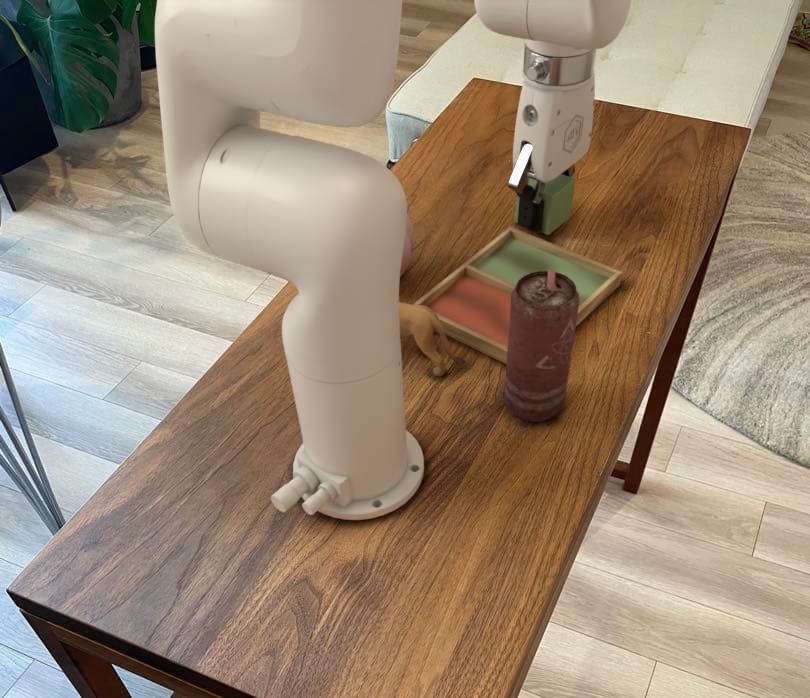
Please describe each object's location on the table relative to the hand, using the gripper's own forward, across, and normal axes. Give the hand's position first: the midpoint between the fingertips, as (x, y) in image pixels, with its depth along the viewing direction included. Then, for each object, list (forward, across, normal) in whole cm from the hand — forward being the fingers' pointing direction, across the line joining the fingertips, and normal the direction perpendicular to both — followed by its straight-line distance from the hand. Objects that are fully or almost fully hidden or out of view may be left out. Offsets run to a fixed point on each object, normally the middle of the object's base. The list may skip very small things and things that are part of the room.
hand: (542, 216), depth 103 cm
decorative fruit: (+2, -21, +9) cm, 23 cm away
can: (+2, -27, -17) cm, 32 cm away
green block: (0, 0, 0) cm, 0 cm away
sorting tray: (+2, -14, -6) cm, 15 cm away
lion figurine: (+2, -30, -1) cm, 30 cm away
